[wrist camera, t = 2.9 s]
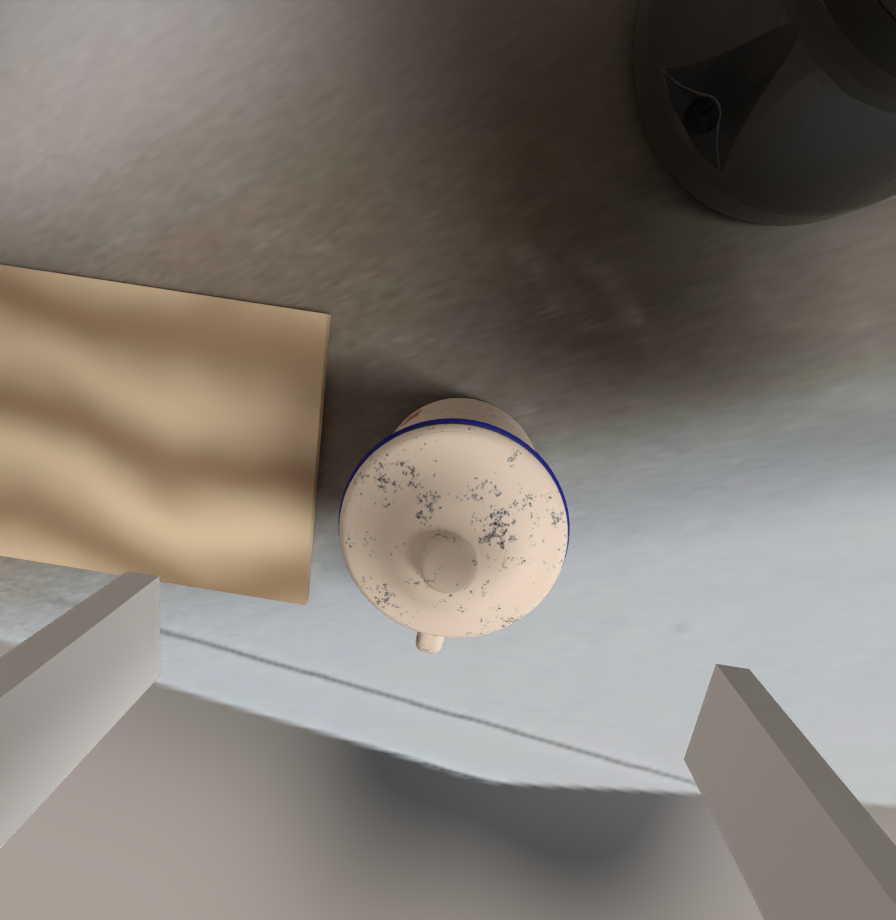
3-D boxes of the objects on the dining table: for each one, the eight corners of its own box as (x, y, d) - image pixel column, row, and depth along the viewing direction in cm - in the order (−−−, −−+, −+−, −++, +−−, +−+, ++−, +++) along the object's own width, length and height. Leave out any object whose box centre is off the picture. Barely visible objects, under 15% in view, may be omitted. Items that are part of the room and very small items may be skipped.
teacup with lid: (392, 377, 26) (329, 410, 15) (558, 409, 26) (621, 466, 15) (362, 575, 29) (290, 726, 18) (510, 604, 29) (532, 774, 18)
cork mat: (-39, 258, 26) (-51, 257, 25) (330, 314, 25) (327, 314, 25) (-7, 548, 30) (-17, 552, 30) (308, 599, 30) (304, 604, 29)
